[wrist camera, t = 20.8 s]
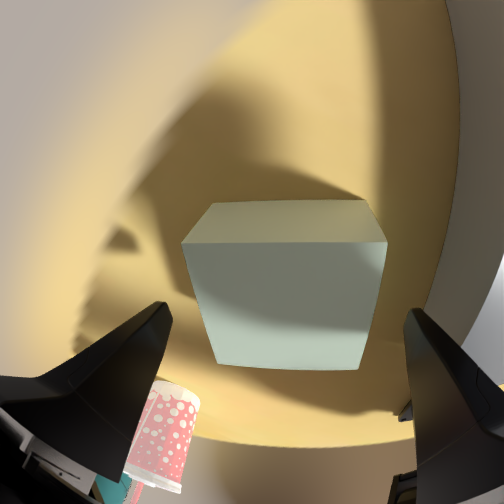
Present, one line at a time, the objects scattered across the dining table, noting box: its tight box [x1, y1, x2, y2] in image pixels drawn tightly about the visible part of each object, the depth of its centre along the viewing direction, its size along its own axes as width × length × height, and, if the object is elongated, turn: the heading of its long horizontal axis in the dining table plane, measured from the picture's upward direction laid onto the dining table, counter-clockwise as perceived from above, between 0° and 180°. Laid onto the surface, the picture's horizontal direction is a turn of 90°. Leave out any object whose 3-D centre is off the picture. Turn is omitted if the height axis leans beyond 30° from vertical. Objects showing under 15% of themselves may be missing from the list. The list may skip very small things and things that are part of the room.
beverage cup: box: [123, 381, 200, 504], centre depth 15 cm, size 6×6×14 cm
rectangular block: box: [181, 200, 388, 370], centre depth 10 cm, size 6×6×4 cm
